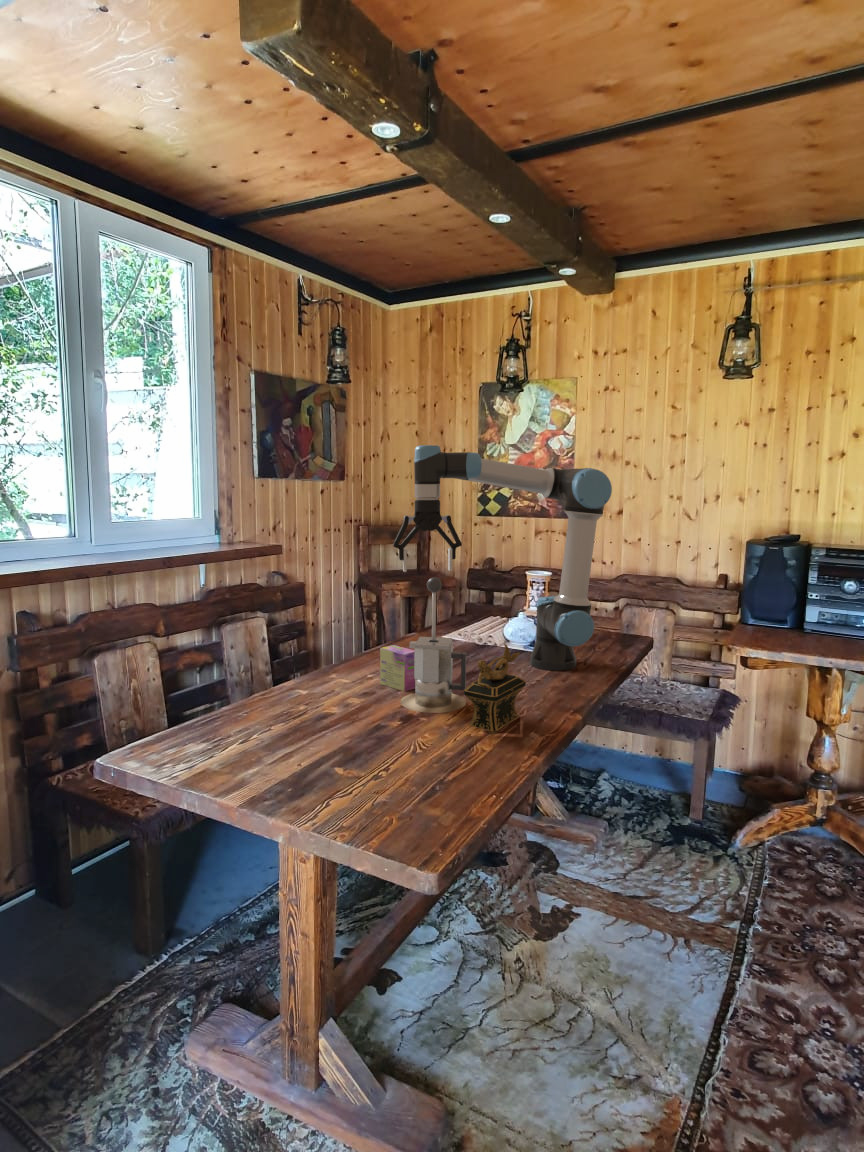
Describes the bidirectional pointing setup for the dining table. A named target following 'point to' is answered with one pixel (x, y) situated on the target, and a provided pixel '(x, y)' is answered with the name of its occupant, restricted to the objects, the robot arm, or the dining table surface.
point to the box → (397, 667)
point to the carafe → (436, 671)
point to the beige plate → (455, 705)
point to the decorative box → (494, 694)
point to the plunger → (434, 601)
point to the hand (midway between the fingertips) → (427, 570)
